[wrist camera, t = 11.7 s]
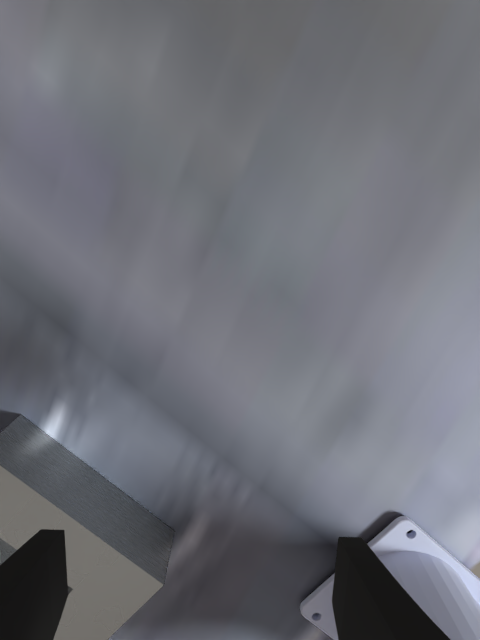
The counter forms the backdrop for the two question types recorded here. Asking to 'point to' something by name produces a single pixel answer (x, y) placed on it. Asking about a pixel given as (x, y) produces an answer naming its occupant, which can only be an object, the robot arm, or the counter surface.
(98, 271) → the counter surface
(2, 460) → the block
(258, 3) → the counter surface
